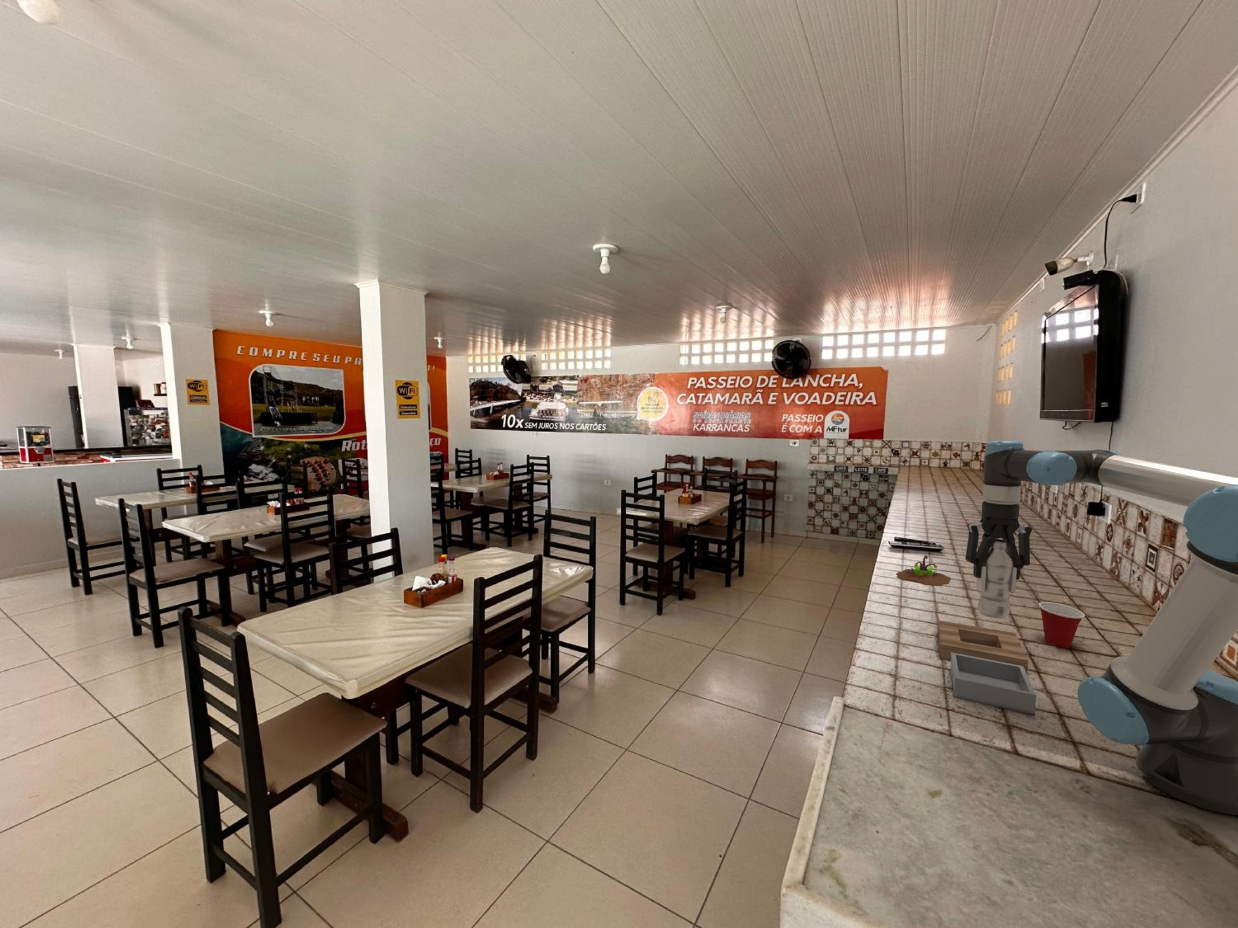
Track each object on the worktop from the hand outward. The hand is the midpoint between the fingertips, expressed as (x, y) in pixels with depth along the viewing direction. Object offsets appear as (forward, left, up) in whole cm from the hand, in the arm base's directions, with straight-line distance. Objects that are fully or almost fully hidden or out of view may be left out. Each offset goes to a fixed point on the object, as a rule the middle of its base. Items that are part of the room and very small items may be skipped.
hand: (995, 590), depth 127 cm
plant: (+94, +13, -27) cm, 99 cm away
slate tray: (0, 0, -27) cm, 27 cm away
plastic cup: (+42, -22, -27) cm, 54 cm away
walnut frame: (+24, 0, -27) cm, 36 cm away
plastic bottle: (0, 0, -7) cm, 7 cm away
